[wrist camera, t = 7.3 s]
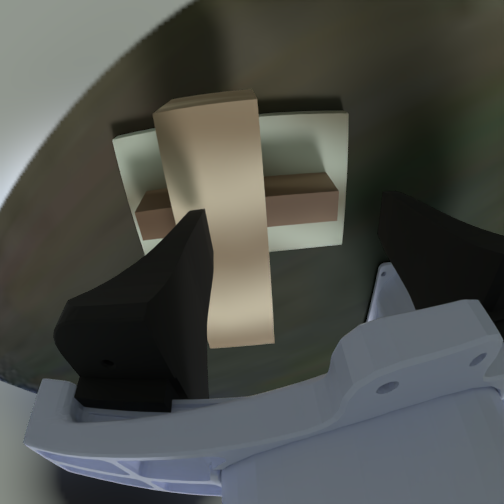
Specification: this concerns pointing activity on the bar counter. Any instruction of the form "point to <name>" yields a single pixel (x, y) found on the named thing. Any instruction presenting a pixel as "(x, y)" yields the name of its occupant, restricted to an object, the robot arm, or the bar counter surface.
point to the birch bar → (223, 204)
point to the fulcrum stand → (275, 179)
